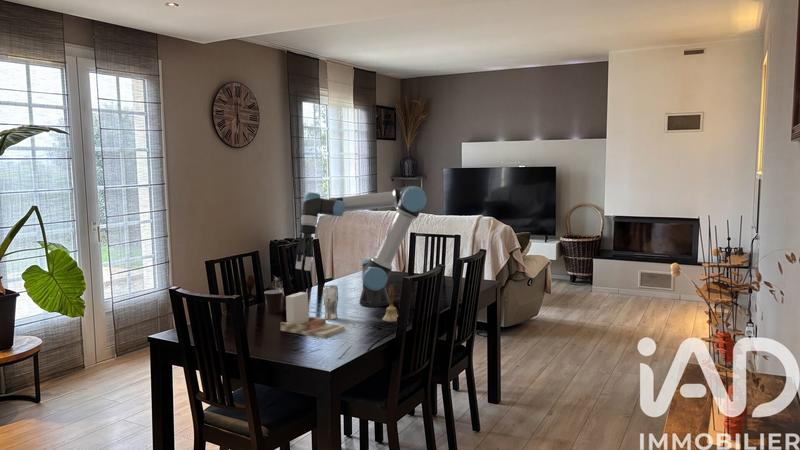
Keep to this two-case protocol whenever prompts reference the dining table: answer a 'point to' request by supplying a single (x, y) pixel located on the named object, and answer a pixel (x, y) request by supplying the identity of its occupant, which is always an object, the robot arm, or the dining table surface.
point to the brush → (391, 308)
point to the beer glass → (330, 301)
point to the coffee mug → (273, 301)
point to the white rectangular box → (297, 308)
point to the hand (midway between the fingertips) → (302, 269)
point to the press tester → (312, 328)
